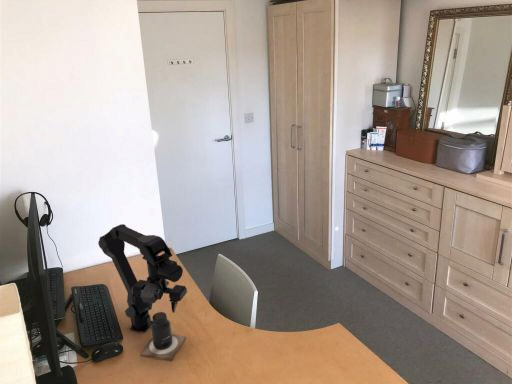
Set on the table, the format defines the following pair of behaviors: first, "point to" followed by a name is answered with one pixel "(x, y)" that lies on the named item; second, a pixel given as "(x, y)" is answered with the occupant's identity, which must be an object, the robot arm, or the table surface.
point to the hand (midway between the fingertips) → (162, 310)
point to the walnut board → (166, 353)
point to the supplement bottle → (161, 331)
